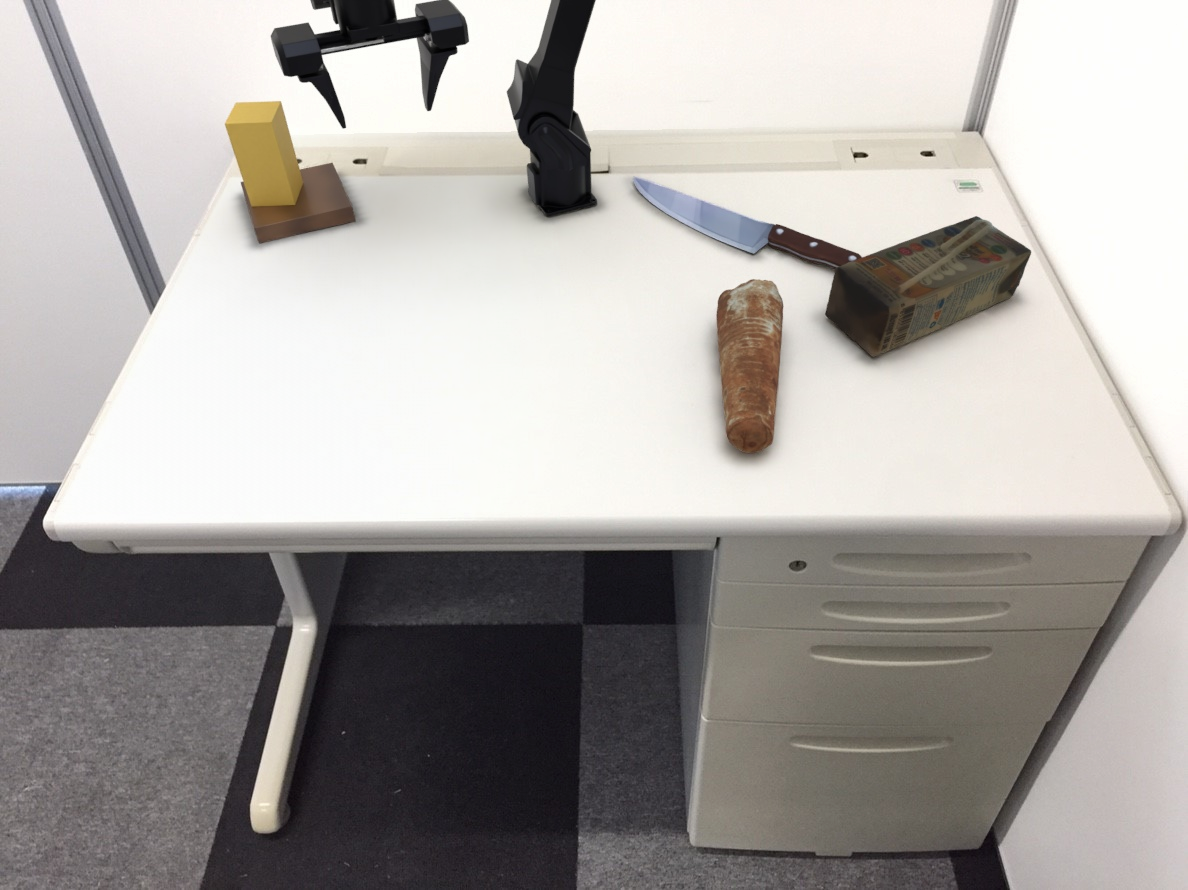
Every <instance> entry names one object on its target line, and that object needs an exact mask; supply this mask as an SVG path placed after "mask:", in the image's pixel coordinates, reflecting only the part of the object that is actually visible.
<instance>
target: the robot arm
mask: <svg viewBox="0 0 1188 890" xmlns="http://www.w3.org/2000/svg"><path fill="white" fill-rule="evenodd" d="M596 1H597V0H550V3H549V7H548V11H547V15H546V18H545V22H544V26H543V28H542V33H541V37H540V41H539V44H538V47H537V49H536V51H535V53H534V54H533V56H532V57H531V59H529V61H528V63H527V62H525V61H523V60H520V59H518V58H517V59H515V63H514V74H513V78H512V82H511V85H510V86H509V88H508V89H507V90H506V96H507V99H508V102H509V107H510V110H511V115H512V118H513V120H514V124H515V127H516V130H517V135H518V138H519V140H520V141H521V143H522V144H523V145H524V146H525V147H526V148H527V149H528V150H529V155H530V156H529V157H530V158H529V159H530V162H528V163H527V164H526V175H527V176H526V177H527V187H528V188H527V192H528V196H529V198H530V199H531V200H532V201H533V203H534V204H535V205H536V206H537V207H538V208H539V209H540V211H541V212H542V213H543V215H544V216H545V217H553V216H558V215H561V214H566V213H570V212H574V211H577V210H582V209H586V208H591V207H594V206H597V205H598V199H597V198H596V197H595V195H594V194H593V193H592V159H591V158H592V156H591V155H592V154H591V153H592V147H591V145H590V143H589V139H588V136H587V134H586V131H585V128H584V126H583V124H582V120H581V117H580V115H579V113H578V112H577V111H575V109H574V106H575V73H576V67H577V64H578V61H579V58H580V54H581V51H582V47H583V43H584V40H585V37H586V33H587V31H588V28H589V24H590V20H591V17H592V15H593V11H594V8H595V4H596ZM310 4H311V7H312V9H313V10H314V11H317V10H323V9H329V8H330V11H331V16H332V20H333V22H334V24H335V25H338V27H339V28H338V29H337V30H330V31H325V32H320V33H315V32H314V30H313V28H312V27H311V25H310V23H309V22H303V23H297V24H292V25H291V24H290V25H284V26H279V27H274V28H273V30H272V32H271V34H270V40H271V44H272V48H273V52H274V56H275V58H276V60H277V63H278V65H279V67H280V70H281V72H282V74H283V77H289V78H293V77H297V79H298V81H299V82H300V83H303V84H305V83H306V84H307V83H311V84H312V86H314V88H315V89H316V91H317V92H318V93H319V94H320V95H321V96H322V98H323V99H324V101H326V104H327V106H329V108H330V110H331V112H332V113H333V115H334V117H335V119H336V120H337V122H338V123H339V126H340V127H341V129H343V130H344V129H347V123H346V118H345V114H344V112H343V109H342V105H341V103H340V101H339V97H338V94H337V92H336V89H335V86H334V83H333V81H332V78H331V74H330V72H329V70H328V69H327V67H326V64H325V62H324V58H323V56H326V55H330V54H331V55H332V54H336V53H341V52H346V51H347V52H348V51H353V50H359V49H363V48H368V47H374V46H381V45H385V44H391V43H396V42H397V43H398V42H401V41H409V40H413V39H416V42H417V47H418V52H419V62H420V76H421V92H422V93H421V94H422V99H423V104H424V108H425V110H426V111H427V112H431V111H432V109H433V106H434V103H435V102H434V101H435V98H436V94H437V91H438V88H439V84H440V81H441V77H442V75H443V72H444V71H445V68H446V66H447V63H448V61H449V59H450V57H451V56H455V55H457V54H458V52H459V51H458V47H459V46H465V45H467V44H468V43H469V42H470V37H469V28H468V27H469V26H468V22H467V20H466V17H465V15H463V13H462V12H461V10H460V9H459V8H458V7H457V6H456V5H455V4H454V2H452V1H451V0H431V1H430V0H429V1H425V2H418V3H415V7H414V13H415V16H410V17H405V18H400V19H398V16H397V9H396V5H395V0H310Z"/></svg>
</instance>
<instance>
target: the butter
mask: <svg viewBox="0 0 1188 890" xmlns="http://www.w3.org/2000/svg"><path fill="white" fill-rule="evenodd" d="M224 126H225V129H226V132H227V136H228V138H229V142H230V145H231V148H232V151H233V154H234V157H235V160H236V163H237V166H238V169H239V173H240V175H241V178H242V182H244V185H245V188H246V191H247V194H248V197H249V200H250V203H251V206H252V207H255V206H282V205H295V204H296V201H297V199H298V196H299V193H300V190H301V187H302V185H303V180H302V176H301V172H300V169H301V168H300V165H299V162H298V158H297V154H296V151H295V147H294V143H293V140H292V137H291V133H290V129H289V126H288V121H287V118H286V115H285V110H284V107H283V104H282V101H281V100H272V101H271V100H270V101H269V100H268V101H244V102H235V103H234V105H233V107H232V108H231V111H230V113H229V115H228V117H227V119H226V120H225V122H224Z"/></svg>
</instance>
